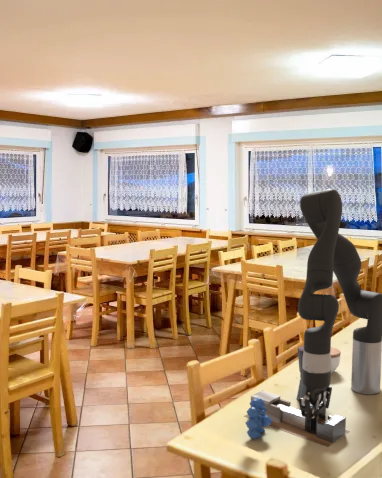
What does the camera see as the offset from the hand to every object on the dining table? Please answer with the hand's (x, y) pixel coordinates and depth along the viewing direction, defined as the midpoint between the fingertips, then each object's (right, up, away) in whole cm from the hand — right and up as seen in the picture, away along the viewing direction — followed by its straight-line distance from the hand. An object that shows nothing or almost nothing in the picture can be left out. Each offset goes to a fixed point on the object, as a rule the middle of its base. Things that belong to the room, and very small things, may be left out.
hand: (315, 427), depth 149 cm
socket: (+4, -1, -3) cm, 5 cm away
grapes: (-15, -3, -3) cm, 16 cm away
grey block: (-2, -1, +2) cm, 3 cm away
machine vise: (-5, -2, +5) cm, 7 cm away
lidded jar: (+15, +3, +51) cm, 54 cm away
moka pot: (+4, 0, +21) cm, 22 cm away
